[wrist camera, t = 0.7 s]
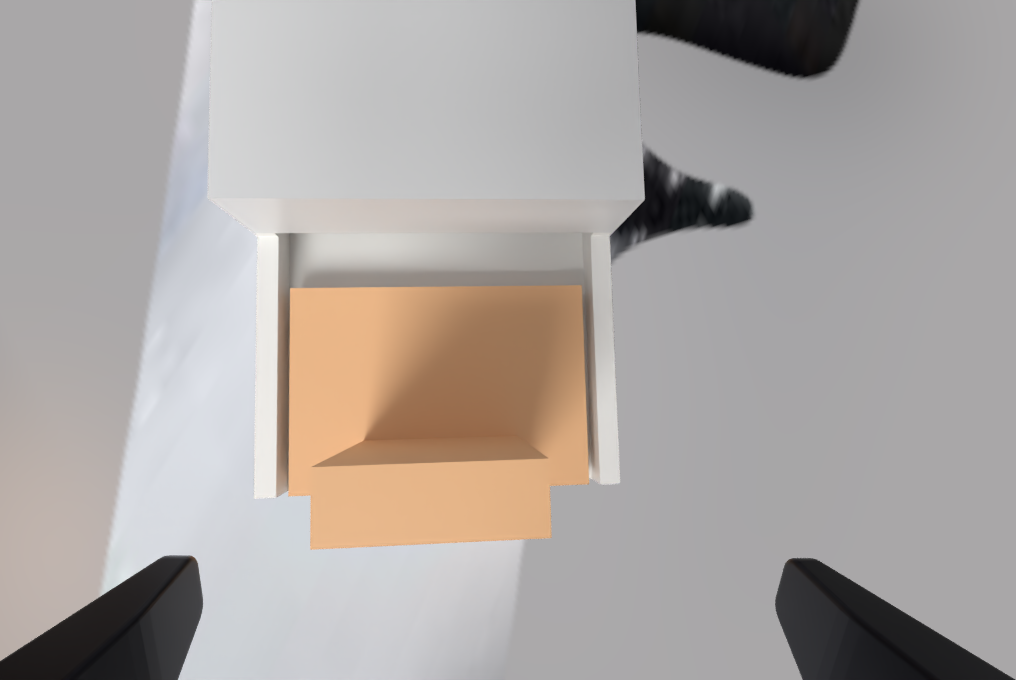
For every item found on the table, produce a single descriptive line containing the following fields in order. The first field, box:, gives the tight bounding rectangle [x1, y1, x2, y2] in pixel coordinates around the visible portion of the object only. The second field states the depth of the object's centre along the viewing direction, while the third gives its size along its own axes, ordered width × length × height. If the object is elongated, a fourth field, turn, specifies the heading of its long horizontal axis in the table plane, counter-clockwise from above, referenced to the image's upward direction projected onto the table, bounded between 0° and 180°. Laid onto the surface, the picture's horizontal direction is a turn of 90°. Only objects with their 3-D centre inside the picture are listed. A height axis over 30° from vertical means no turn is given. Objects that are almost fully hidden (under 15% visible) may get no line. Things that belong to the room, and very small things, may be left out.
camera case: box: [207, 0, 645, 499], centre depth 23 cm, size 22×14×9 cm, turn 2°
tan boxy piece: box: [289, 285, 589, 550], centre depth 19 cm, size 8×12×9 cm
